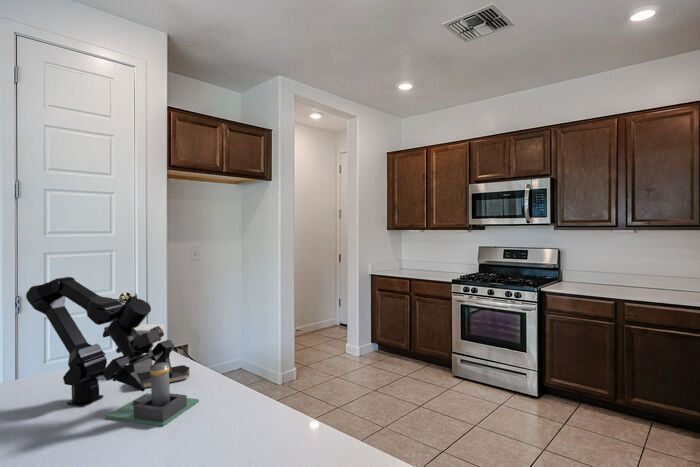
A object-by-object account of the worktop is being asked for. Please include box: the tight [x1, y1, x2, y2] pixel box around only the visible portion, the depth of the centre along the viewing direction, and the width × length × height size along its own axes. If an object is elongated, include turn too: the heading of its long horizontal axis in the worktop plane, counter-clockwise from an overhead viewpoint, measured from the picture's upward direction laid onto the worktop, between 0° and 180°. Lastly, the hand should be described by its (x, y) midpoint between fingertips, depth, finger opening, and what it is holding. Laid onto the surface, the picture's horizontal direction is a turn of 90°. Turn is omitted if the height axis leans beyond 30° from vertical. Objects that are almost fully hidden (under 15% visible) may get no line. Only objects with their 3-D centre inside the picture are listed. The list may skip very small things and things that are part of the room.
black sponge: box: [136, 364, 190, 388], centre depth 128 cm, size 16×8×4 cm, turn 123°
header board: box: [105, 392, 200, 427], centre depth 108 cm, size 18×14×4 cm
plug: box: [150, 362, 171, 407], centre depth 105 cm, size 5×5×12 cm
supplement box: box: [134, 323, 166, 374], centre depth 140 cm, size 9×9×15 cm
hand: (158, 383), depth 105 cm, fingers open, 9 cm apart
